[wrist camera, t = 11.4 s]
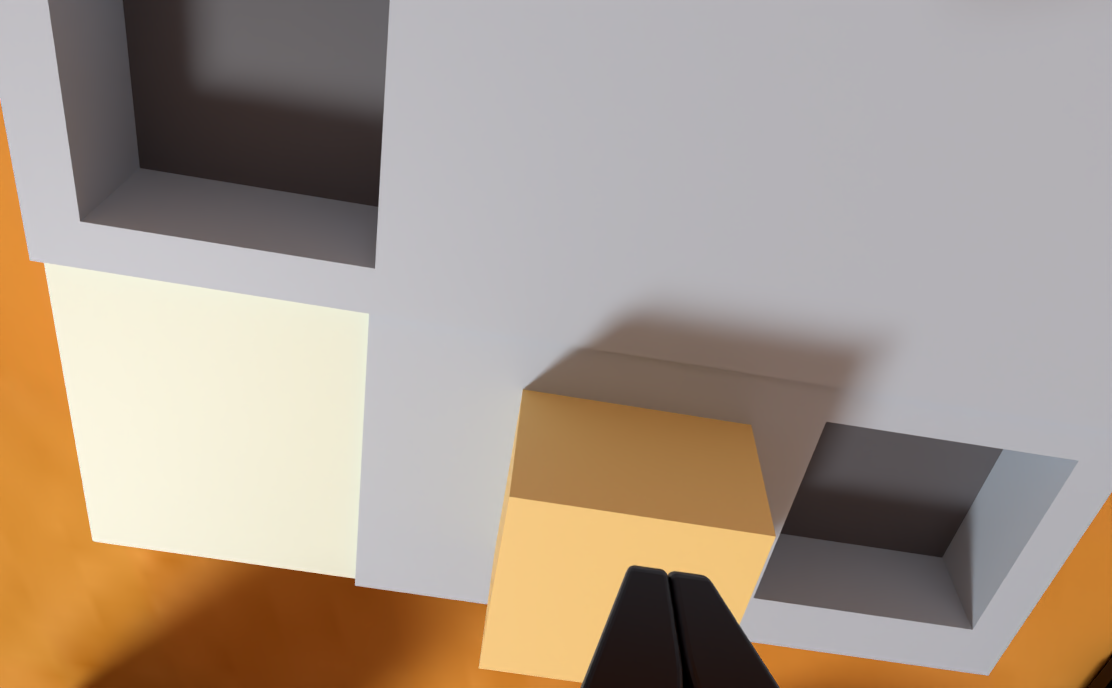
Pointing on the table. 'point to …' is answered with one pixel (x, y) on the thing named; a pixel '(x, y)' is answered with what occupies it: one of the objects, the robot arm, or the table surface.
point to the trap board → (585, 278)
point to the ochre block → (614, 523)
